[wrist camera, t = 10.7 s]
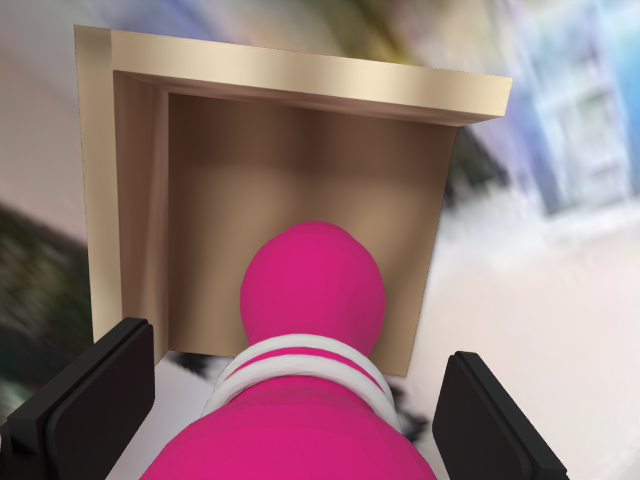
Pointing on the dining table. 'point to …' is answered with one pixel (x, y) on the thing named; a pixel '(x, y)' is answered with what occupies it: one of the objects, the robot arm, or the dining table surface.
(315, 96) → the corner fence
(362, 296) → the pepper mill
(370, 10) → the dining table surface
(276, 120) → the board
